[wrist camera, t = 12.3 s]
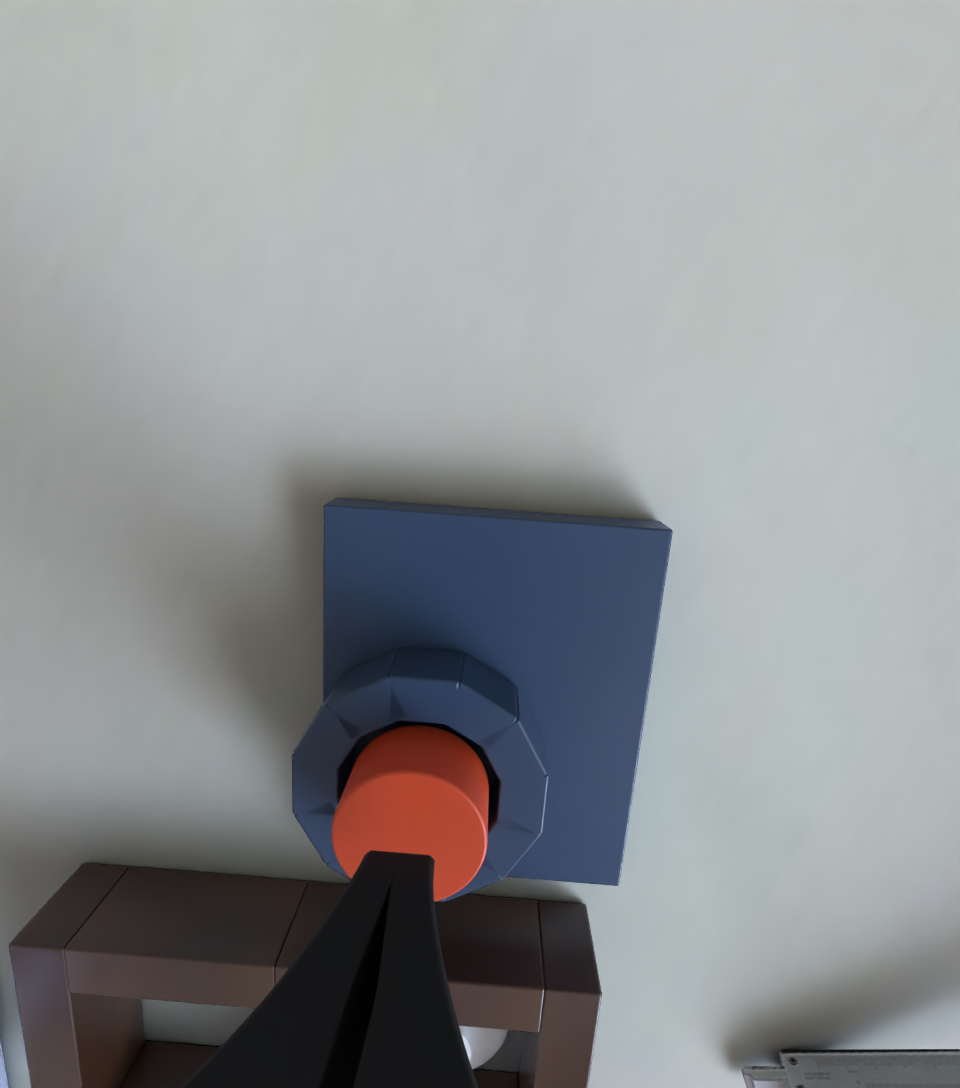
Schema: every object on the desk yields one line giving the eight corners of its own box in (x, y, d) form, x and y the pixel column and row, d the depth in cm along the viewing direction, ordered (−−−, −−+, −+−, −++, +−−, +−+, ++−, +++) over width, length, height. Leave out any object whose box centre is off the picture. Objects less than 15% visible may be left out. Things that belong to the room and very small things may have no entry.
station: (325, 833, 18) (292, 913, 15) (326, 496, 16) (287, 516, 13) (611, 856, 18) (633, 941, 15) (660, 520, 16) (697, 546, 13)
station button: (350, 838, 15) (330, 899, 13) (352, 718, 14) (330, 765, 13) (484, 849, 15) (482, 912, 13) (493, 729, 14) (493, 778, 13)
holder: (106, 1069, 21) (43, 1175, 18) (82, 861, 19) (6, 944, 16) (558, 1108, 21) (568, 1222, 18) (586, 903, 19) (602, 994, 16)
